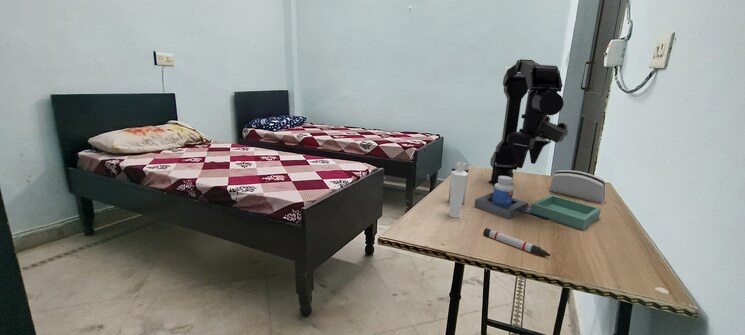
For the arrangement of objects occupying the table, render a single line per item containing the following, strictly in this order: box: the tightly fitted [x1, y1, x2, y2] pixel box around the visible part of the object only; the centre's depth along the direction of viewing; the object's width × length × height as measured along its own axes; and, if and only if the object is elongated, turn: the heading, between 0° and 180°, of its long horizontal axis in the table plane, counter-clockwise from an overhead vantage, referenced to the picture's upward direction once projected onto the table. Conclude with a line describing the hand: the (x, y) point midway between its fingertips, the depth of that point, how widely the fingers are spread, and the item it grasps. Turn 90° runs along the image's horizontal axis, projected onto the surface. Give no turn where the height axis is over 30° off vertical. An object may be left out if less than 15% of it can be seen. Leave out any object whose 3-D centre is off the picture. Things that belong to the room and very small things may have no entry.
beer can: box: [448, 162, 469, 204], centre depth 105 cm, size 5×5×12 cm
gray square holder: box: [474, 192, 529, 220], centre depth 103 cm, size 11×11×2 cm
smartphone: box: [522, 204, 550, 221], centre depth 104 cm, size 8×1×15 cm
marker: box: [482, 227, 552, 257], centre depth 80 cm, size 15×2×2 cm, turn 46°
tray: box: [530, 194, 602, 231], centre depth 100 cm, size 14×14×3 cm
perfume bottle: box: [447, 161, 469, 219], centre depth 94 cm, size 5×4×15 cm
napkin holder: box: [548, 169, 606, 204], centre depth 118 cm, size 17×5×10 cm, turn 50°
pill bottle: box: [492, 176, 515, 207], centre depth 102 cm, size 6×5×10 cm
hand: (526, 165), depth 100 cm, fingers open, 9 cm apart
